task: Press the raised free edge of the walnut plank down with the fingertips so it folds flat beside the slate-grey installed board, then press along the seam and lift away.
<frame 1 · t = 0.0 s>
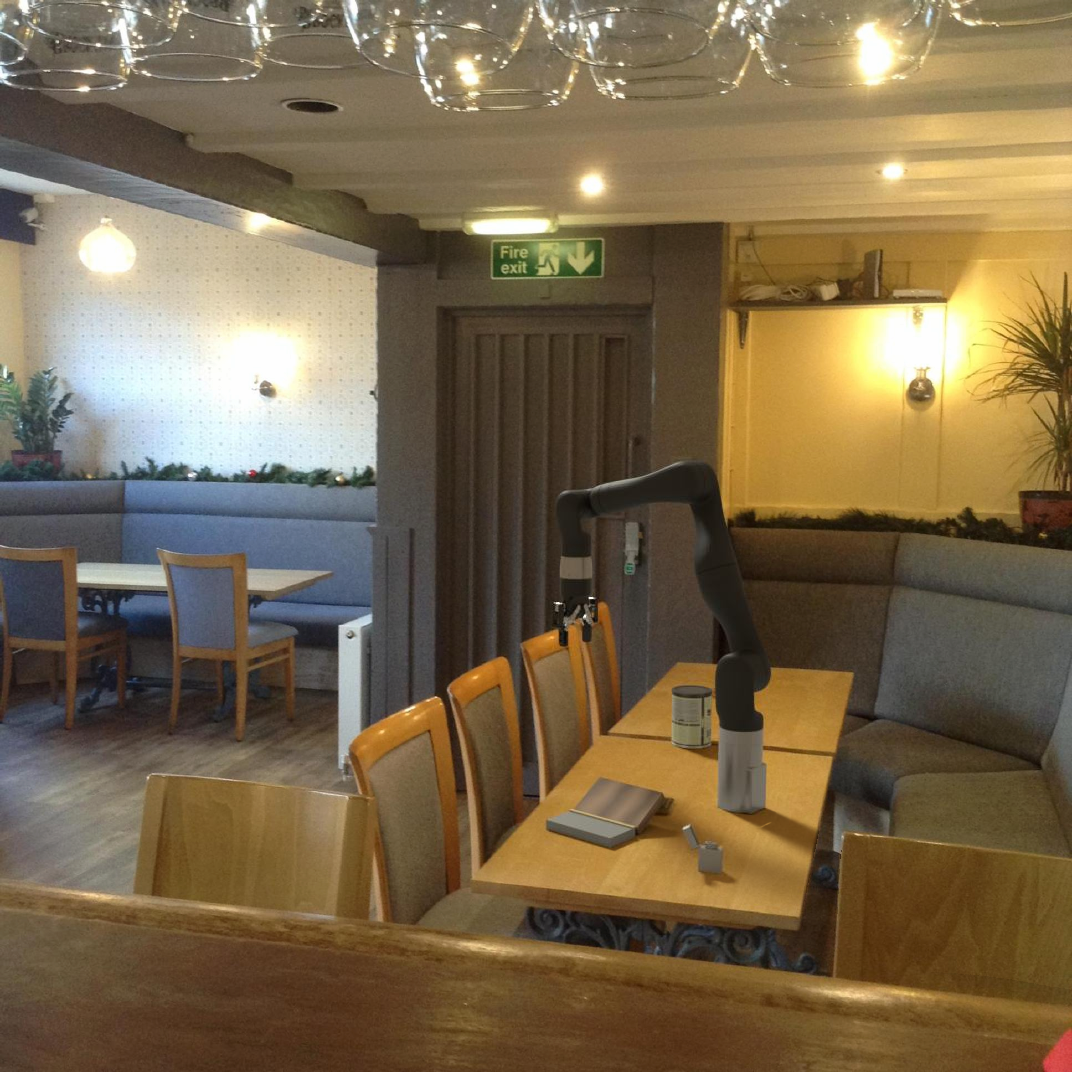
hand: (575, 644, 277), 29 cm above the table, fingers open, 8 cm apart
lighter: (702, 870, 214), on the table
walnut plank: (618, 804, 239), point 4 cm above the table, hinge at 30.0°
installed board: (590, 833, 233), on the table
coffee can: (691, 744, 301), on the table
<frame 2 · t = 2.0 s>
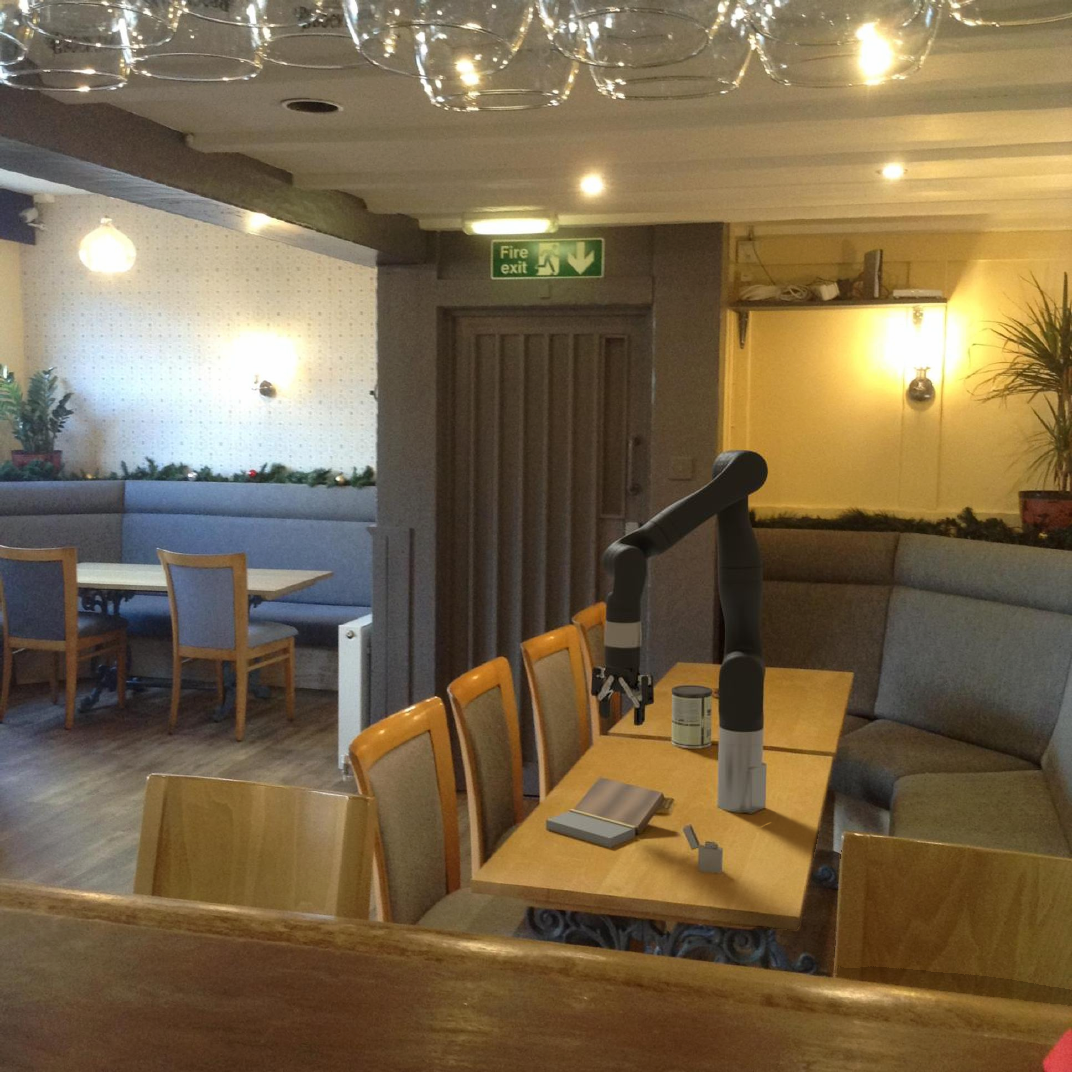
hand: (621, 721, 240), 20 cm above the table, fingers open, 8 cm apart
nothing on the table moved.
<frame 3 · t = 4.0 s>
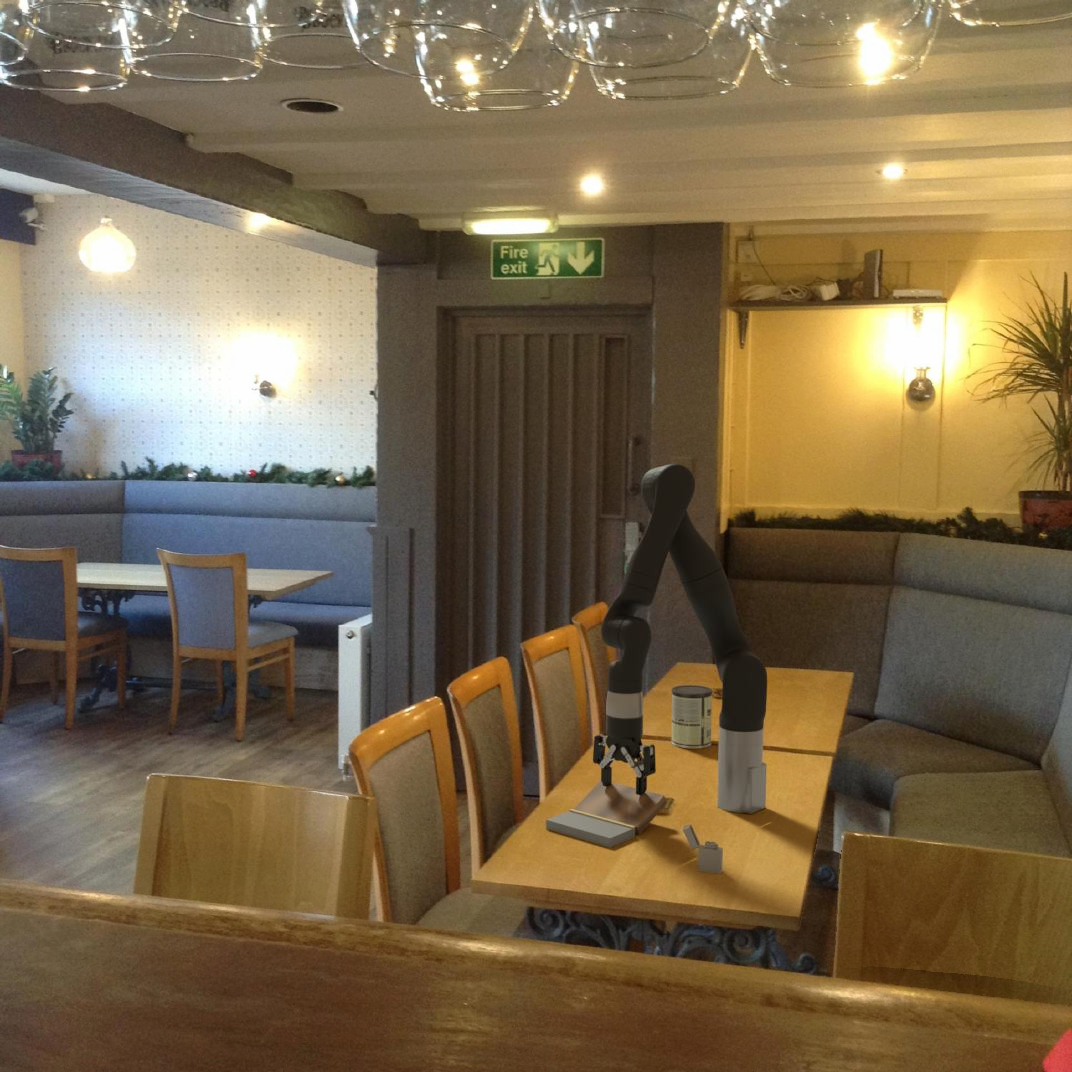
hand: (623, 789, 242), 6 cm above the table
walnut plank: (619, 806, 239), point 3 cm above the table, hinge at 24.7°, touching gripper
everything else where it was.
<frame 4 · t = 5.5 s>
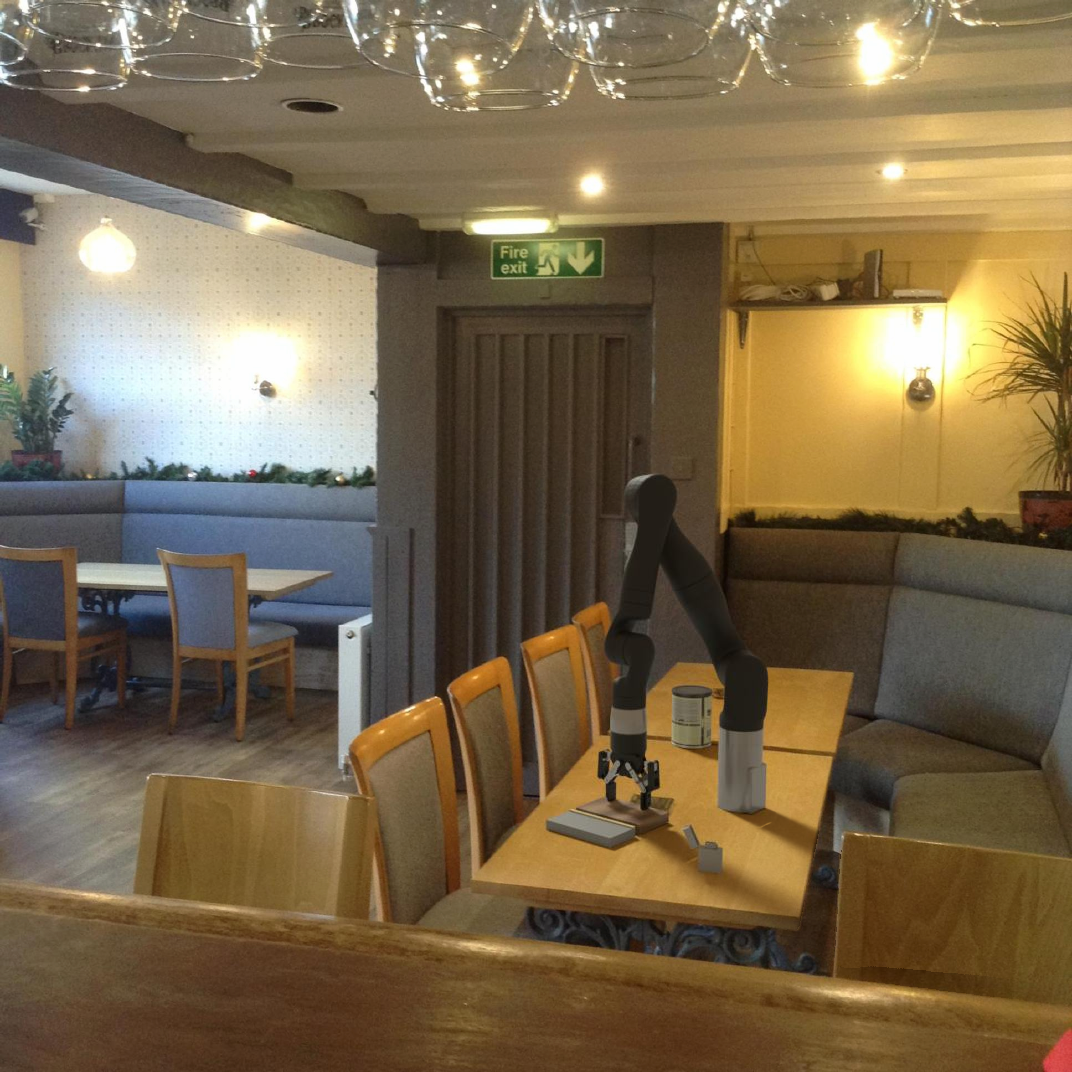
hand: (627, 804, 244), 2 cm above the table
walnut plank: (622, 814, 240), point 1 cm above the table, hinge at 0.8°, touching gripper
everything else where it was.
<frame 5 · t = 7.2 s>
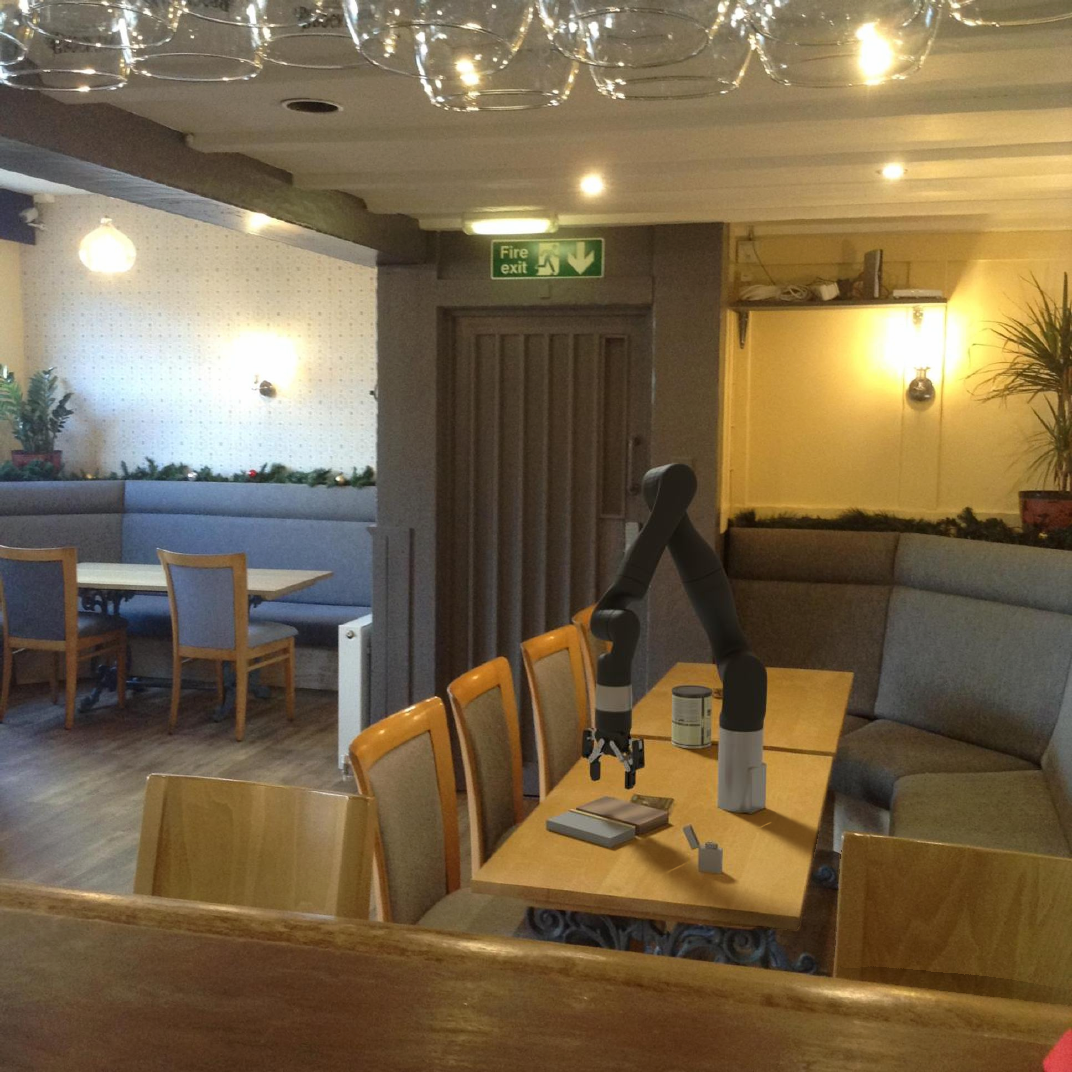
hand: (612, 784, 239), 8 cm above the table, fingers open, 8 cm apart
walnut plank: (622, 814, 240), point 1 cm above the table, hinge at 0.7°
everything else where it was.
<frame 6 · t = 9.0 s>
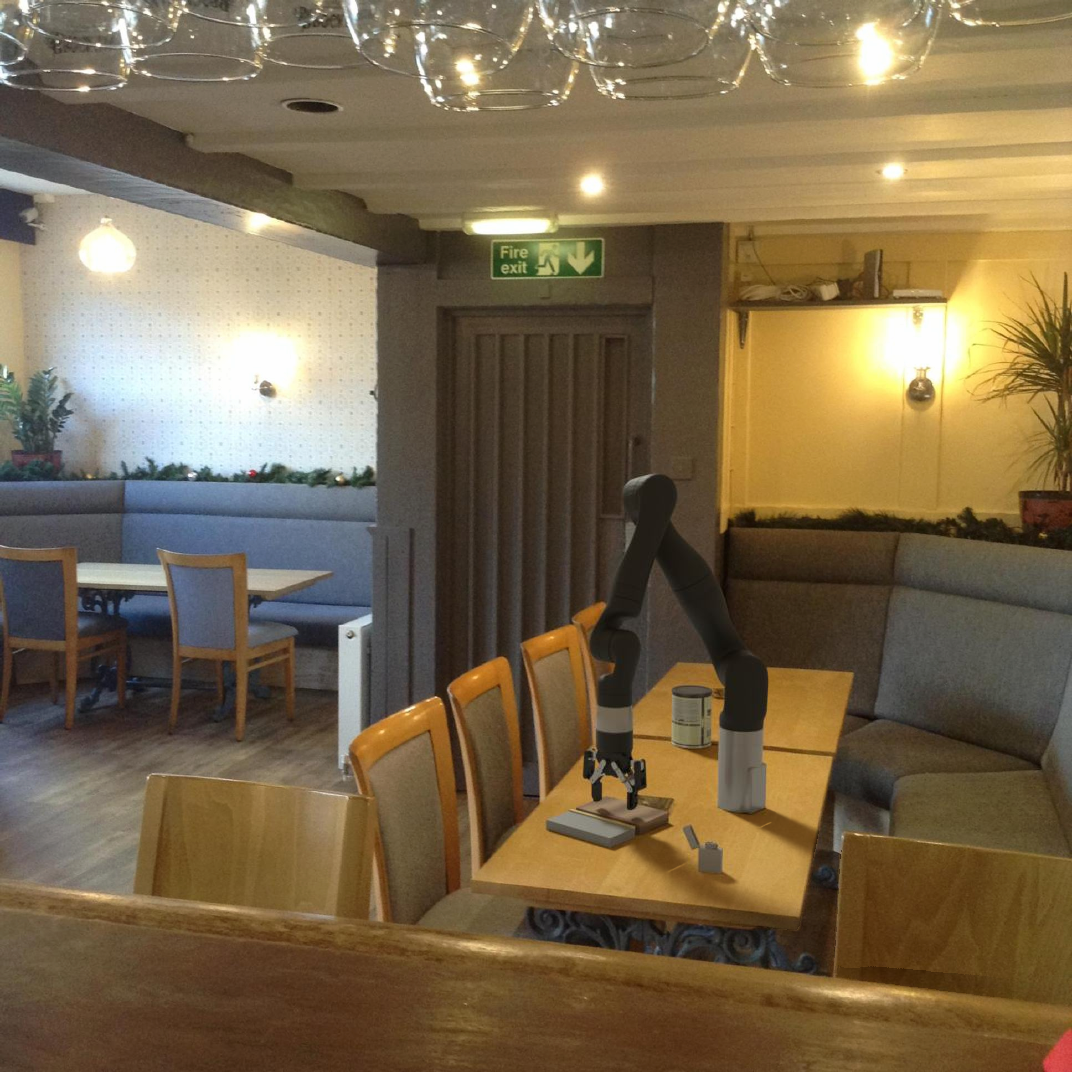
hand: (614, 805, 239), 4 cm above the table, fingers open, 8 cm apart
nothing on the table moved.
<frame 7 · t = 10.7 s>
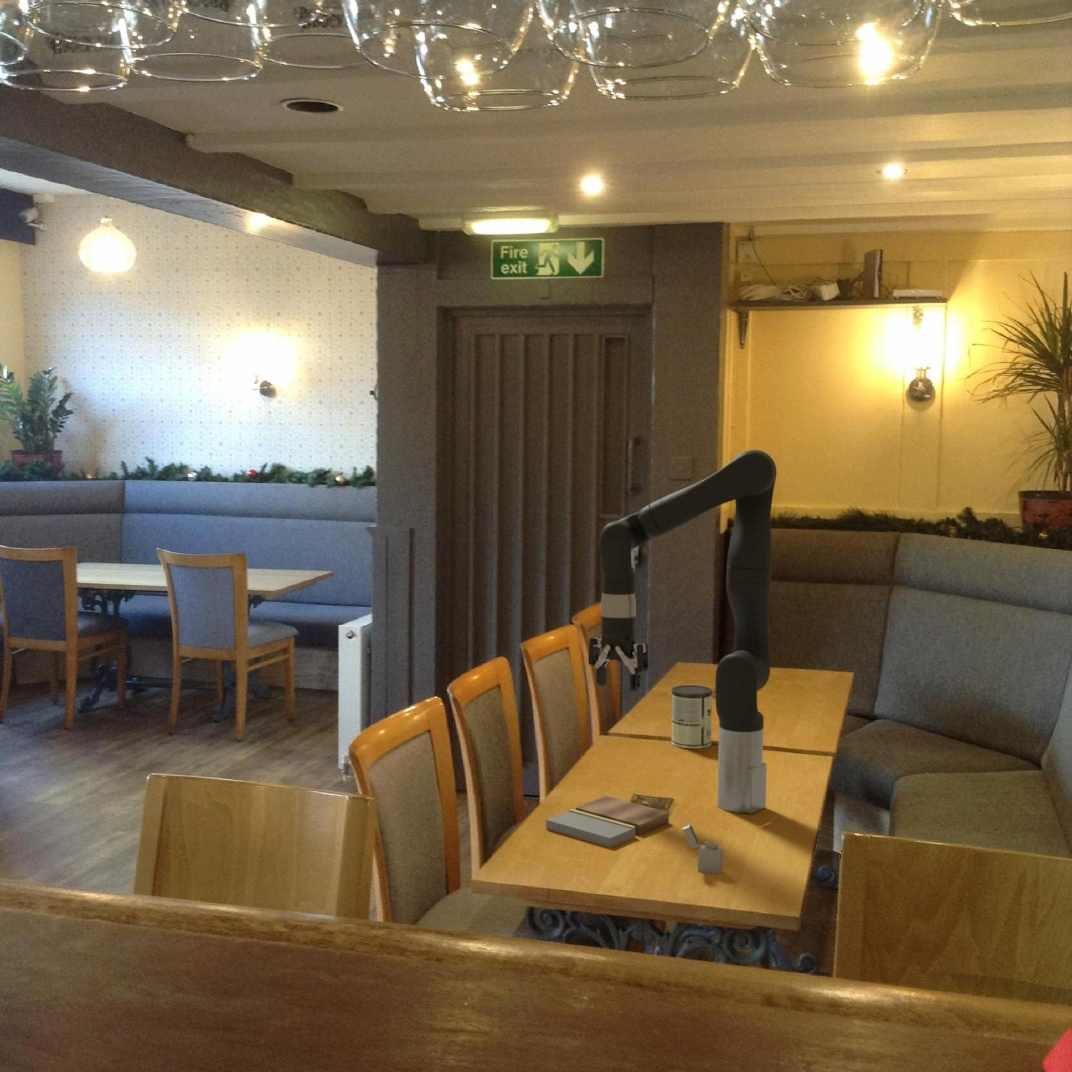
hand: (617, 688, 255), 24 cm above the table, fingers open, 8 cm apart
nothing on the table moved.
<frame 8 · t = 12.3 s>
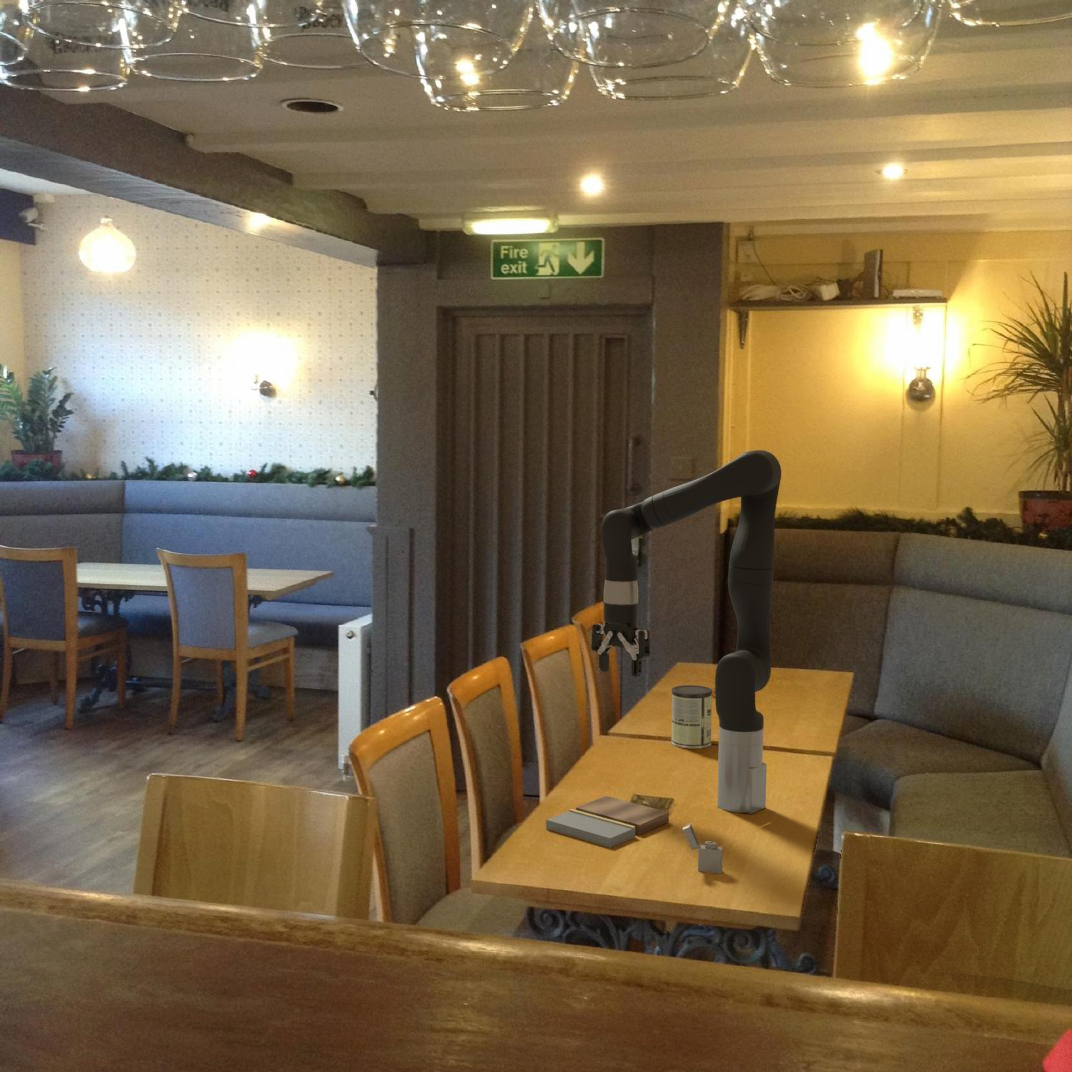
hand: (619, 673, 259), 26 cm above the table, fingers open, 8 cm apart
nothing on the table moved.
at the end: walnut plank at +1° (first picture: +30°); lighter moved 0.2 cm from its start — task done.
